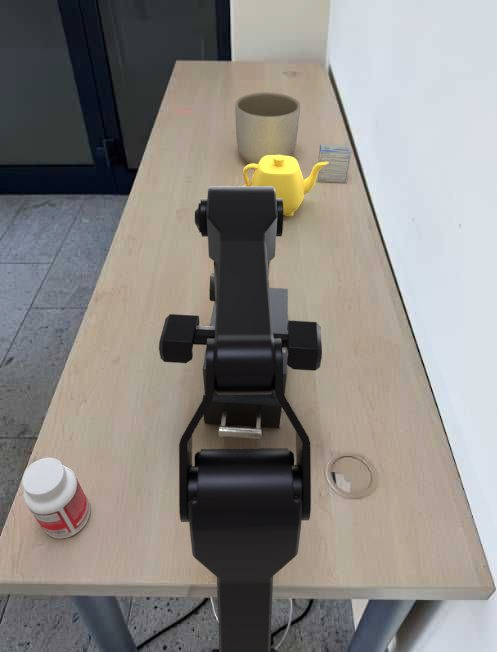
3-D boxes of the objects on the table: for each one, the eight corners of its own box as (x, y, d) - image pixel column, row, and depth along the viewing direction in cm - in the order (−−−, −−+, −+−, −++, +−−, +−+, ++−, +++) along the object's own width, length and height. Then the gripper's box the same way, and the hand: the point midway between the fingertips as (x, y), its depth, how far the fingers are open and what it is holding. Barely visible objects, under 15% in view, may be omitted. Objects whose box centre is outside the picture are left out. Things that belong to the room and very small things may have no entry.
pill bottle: (81, 486, 67) (60, 442, 59) (98, 522, 63) (78, 481, 56) (36, 510, 64) (8, 468, 57) (51, 550, 61) (23, 511, 53)
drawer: (279, 453, 70) (281, 430, 66) (200, 448, 70) (198, 425, 66) (281, 340, 86) (283, 316, 82) (217, 336, 86) (216, 312, 82)
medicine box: (345, 175, 131) (350, 144, 125) (346, 184, 128) (351, 152, 122) (316, 174, 132) (320, 143, 126) (316, 182, 128) (320, 150, 122)
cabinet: (283, 404, 77) (287, 374, 72) (205, 399, 78) (202, 369, 72) (285, 319, 91) (287, 288, 86) (218, 315, 92) (217, 284, 86)
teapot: (243, 190, 125) (244, 142, 116) (321, 194, 124) (328, 145, 115) (238, 219, 115) (238, 169, 106) (323, 223, 114) (330, 173, 105)
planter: (229, 169, 133) (228, 112, 122) (243, 143, 145) (243, 89, 134) (290, 176, 130) (294, 119, 120) (299, 149, 142) (304, 95, 131)
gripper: (324, 254, 58) (311, 344, 69) (169, 247, 59) (180, 336, 70) (329, 319, 50) (313, 408, 61) (150, 309, 51) (166, 399, 62)
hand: (241, 384), depth 63 cm, fingers closed
